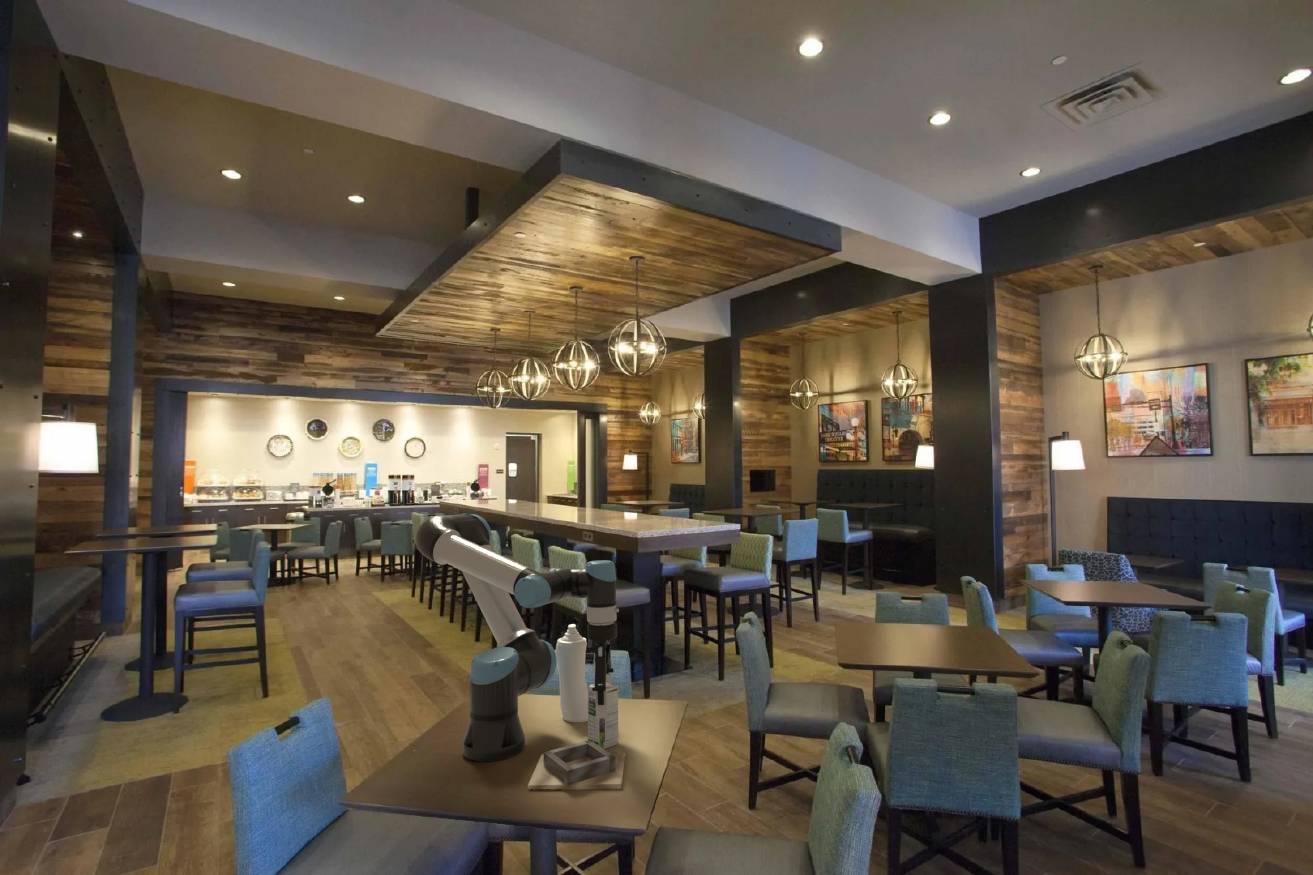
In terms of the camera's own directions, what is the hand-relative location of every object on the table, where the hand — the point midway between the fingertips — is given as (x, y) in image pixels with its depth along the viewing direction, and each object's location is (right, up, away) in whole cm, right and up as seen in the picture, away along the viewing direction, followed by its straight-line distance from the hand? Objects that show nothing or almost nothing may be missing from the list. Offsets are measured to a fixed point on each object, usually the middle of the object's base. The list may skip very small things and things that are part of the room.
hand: (604, 708), depth 161 cm
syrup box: (0, -9, -1) cm, 9 cm away
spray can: (-10, -11, +20) cm, 25 cm away
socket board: (-4, -8, -17) cm, 19 cm away
